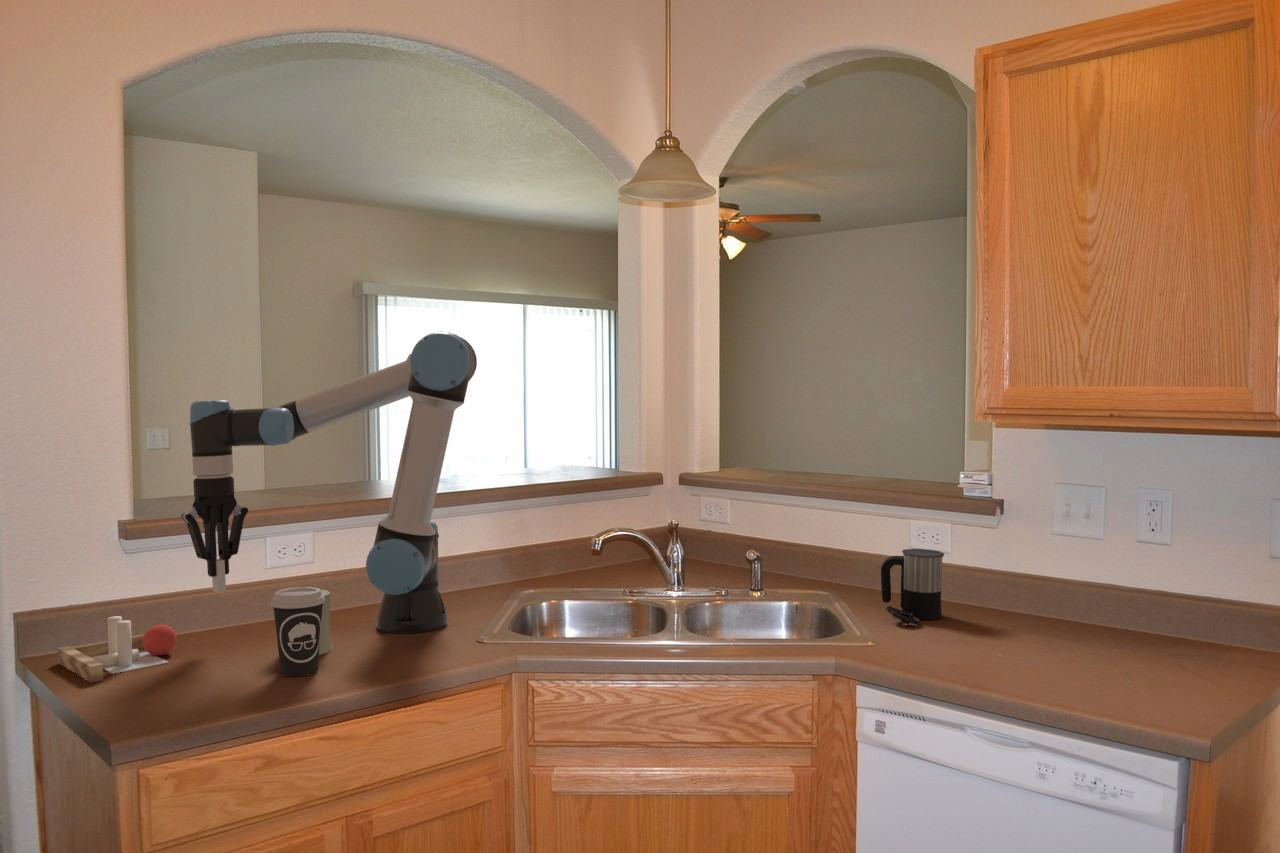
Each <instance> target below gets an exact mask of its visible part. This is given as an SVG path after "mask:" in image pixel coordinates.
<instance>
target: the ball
mask: <svg viewBox="0 0 1280 853" xmlns="http://www.w3.org/2000/svg"><path fill="white" fill-rule="evenodd" d="M143 634H144V636H143V647H144V649H145V651H147V652H148V653H150V654H152V655H155V656H158V657H160V656H164V655H166V654H168V653H170V652H171V651H172V650H173V649H174V648H175V646H176V644H177V640H178V638H177V634H176V631H175V630H174V629H173V627H171V626H169V625H166V624H161V623H160V624H155V625H152V626H151V627H149V628H148V629H147V630H145V633H143Z"/></svg>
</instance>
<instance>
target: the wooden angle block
mask: <svg viewBox="0 0 1280 853" xmlns="http://www.w3.org/2000/svg"><path fill="white" fill-rule="evenodd" d="M144 634H145V633H142V634H141V633H140V634H136V635H132V650H133V649H138V650H139V651H141V650H145V649H144V647H143V636H144ZM145 651H146V650H145ZM106 654H108V639H107V640H103V641H98V642H92V643H86V644H81V645H75V646H74V645H73V646H70V645H69V646H63V647H57V664H58V663H59V664H61V665H62V666H61V665H60V666H61V667H63V666H64V667H66V668H67V669H66V668H65V669H66V670H68V669H69V670H71V671H72V672H71V671H70V672H71V673H73V672H74V673H73V674H75V673H76V674H77V675H76V674H75V675H76V676H78V675H79V676H78V677H80V678H81V677H82V678H81V679H83V678H84V679H83V680H84V681H86V680H87V682H88V681H89V682H88V683H90V684H93V682H95V683H98V682H99V681H100V682H103V681H104V670H103V664H102V663H100V662H98V661H96V660H94V659H92V658H90V657H95V656H101V655H106ZM59 664H58V665H59ZM64 667H63V668H64ZM69 670H68V671H69Z"/></svg>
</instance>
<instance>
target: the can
mask: <svg viewBox="0 0 1280 853" xmlns="http://www.w3.org/2000/svg"><path fill="white" fill-rule="evenodd" d="M320 590H321V593H322V594H323V595H324V597H325V602H324V603H323V607H322V620H321V633H320V647H319V656H321V655H325V654H327V653H329V652H330V651H331V650H332V645H331V610H330V608H331V606H330V605H331V601H330V600H331V599H330V598H331V592H330V591H328V590H326V589H320Z"/></svg>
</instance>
